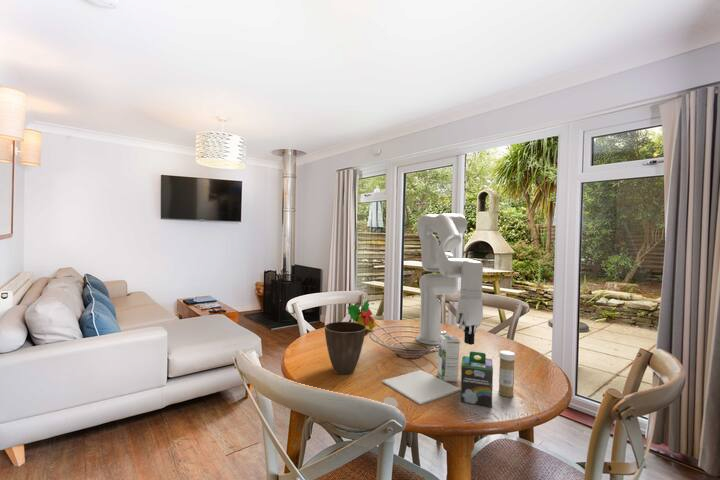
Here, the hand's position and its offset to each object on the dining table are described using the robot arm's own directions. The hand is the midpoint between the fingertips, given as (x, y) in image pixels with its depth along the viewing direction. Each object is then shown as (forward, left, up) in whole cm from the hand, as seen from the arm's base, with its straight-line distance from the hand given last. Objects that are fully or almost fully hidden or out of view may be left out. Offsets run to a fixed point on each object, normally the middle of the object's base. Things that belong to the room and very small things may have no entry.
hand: (469, 343), depth 128 cm
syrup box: (+11, 0, -11) cm, 16 cm away
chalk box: (+15, +15, -11) cm, 24 cm away
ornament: (+4, -61, -11) cm, 62 cm away
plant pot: (+39, -24, -11) cm, 47 cm away
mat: (+24, 0, -11) cm, 26 cm away
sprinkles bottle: (+4, +18, -11) cm, 21 cm away
